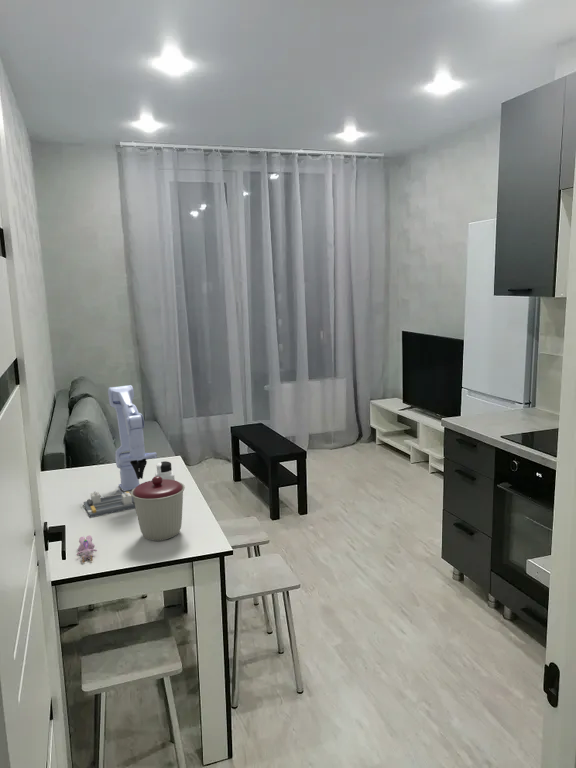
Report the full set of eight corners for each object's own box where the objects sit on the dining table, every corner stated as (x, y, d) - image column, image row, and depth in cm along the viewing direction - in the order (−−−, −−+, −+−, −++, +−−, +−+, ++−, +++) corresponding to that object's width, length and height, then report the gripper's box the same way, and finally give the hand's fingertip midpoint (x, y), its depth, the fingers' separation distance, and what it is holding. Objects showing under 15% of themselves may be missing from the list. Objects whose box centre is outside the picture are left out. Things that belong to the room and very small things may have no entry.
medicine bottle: (173, 486, 252) (171, 459, 250) (175, 491, 246) (173, 463, 243) (156, 488, 250) (154, 461, 248) (158, 494, 243) (155, 466, 241)
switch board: (83, 504, 235) (83, 499, 234) (133, 494, 244) (133, 489, 243) (90, 517, 221) (89, 512, 221) (143, 506, 231) (142, 500, 230)
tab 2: (122, 501, 232) (121, 492, 231) (129, 500, 233) (128, 491, 233) (124, 505, 229) (123, 495, 228) (132, 503, 230) (131, 494, 229)
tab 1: (91, 501, 234) (90, 492, 234) (99, 499, 236) (98, 490, 235) (93, 504, 231) (92, 495, 230) (100, 502, 232) (100, 493, 232)
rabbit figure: (98, 564, 187) (95, 538, 200) (96, 548, 185) (94, 523, 198) (77, 568, 185) (76, 542, 198) (75, 552, 183) (74, 527, 196)
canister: (145, 523, 214) (140, 468, 210) (194, 523, 212) (189, 467, 208) (126, 545, 196) (121, 485, 192) (179, 546, 194) (174, 485, 190)
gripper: (120, 450, 223) (123, 484, 225) (157, 444, 229) (160, 477, 232) (116, 446, 229) (119, 479, 231) (153, 440, 236) (155, 472, 238)
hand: (139, 478), depth 232 cm, fingers closed
